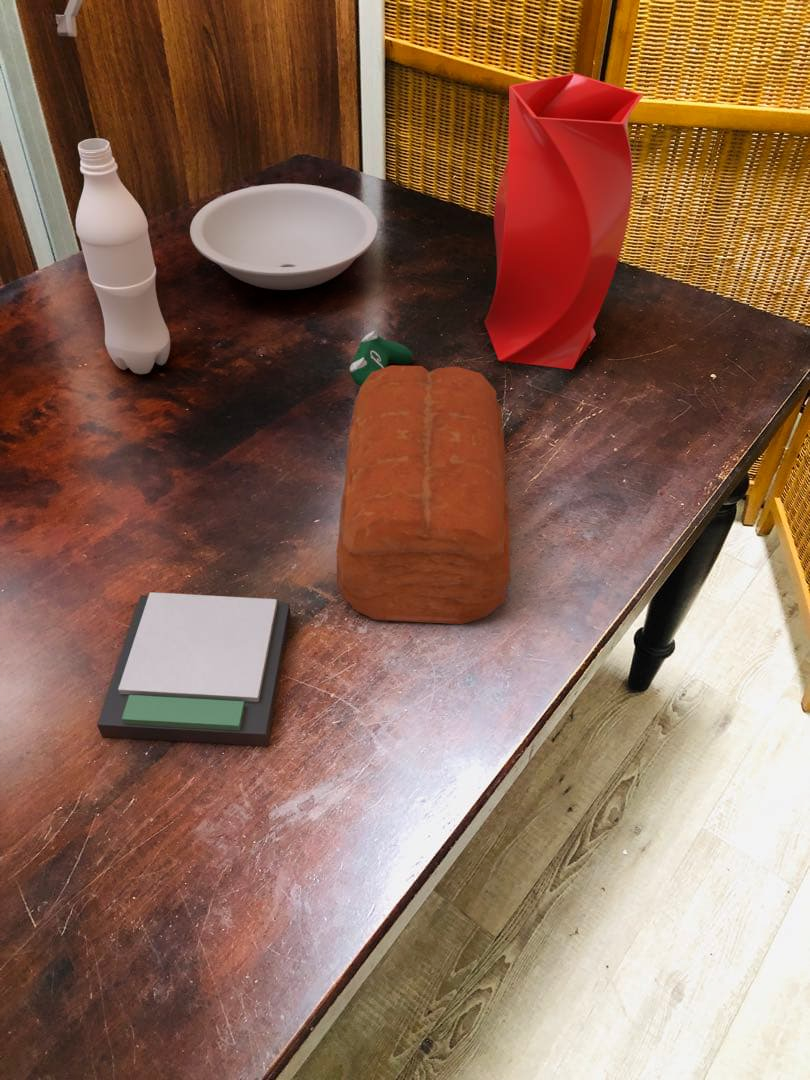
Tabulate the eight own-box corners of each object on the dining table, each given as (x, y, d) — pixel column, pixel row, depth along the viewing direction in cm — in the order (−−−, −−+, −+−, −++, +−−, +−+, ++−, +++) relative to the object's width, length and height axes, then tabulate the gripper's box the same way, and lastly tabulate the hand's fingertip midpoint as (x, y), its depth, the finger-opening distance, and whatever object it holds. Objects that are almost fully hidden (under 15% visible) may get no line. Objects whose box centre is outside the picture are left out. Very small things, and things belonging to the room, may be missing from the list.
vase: (466, 354, 106) (488, 111, 85) (493, 294, 115) (518, 63, 95) (592, 378, 103) (645, 133, 83) (608, 314, 113) (659, 81, 92)
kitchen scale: (101, 737, 69) (94, 719, 67) (144, 607, 78) (138, 589, 76) (267, 746, 68) (265, 729, 67) (291, 616, 77) (289, 597, 76)
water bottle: (98, 370, 101) (39, 152, 83) (133, 338, 106) (84, 124, 88) (152, 385, 100) (103, 166, 82) (185, 352, 104) (146, 137, 86)
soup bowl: (158, 279, 115) (149, 232, 111) (278, 212, 129) (274, 167, 125) (300, 342, 106) (297, 293, 102) (412, 262, 120) (414, 216, 115)
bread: (496, 433, 96) (507, 350, 88) (509, 628, 77) (524, 545, 69) (353, 427, 96) (352, 344, 88) (332, 620, 77) (328, 537, 69)
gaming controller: (394, 369, 106) (359, 334, 104) (417, 353, 104) (381, 317, 101) (377, 416, 100) (339, 380, 97) (401, 400, 98) (363, 363, 95)
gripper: (-145, -160, 76) (-107, 26, 83) (100, -141, 78) (117, 39, 85) (-114, -146, 81) (-81, 27, 88) (114, -129, 83) (129, 39, 90)
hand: (18, 33), depth 86 cm, fingers open, 8 cm apart
